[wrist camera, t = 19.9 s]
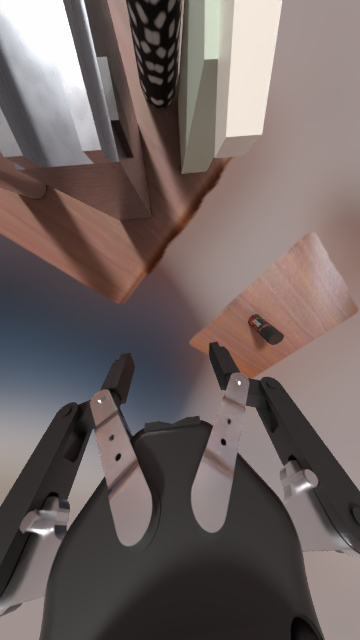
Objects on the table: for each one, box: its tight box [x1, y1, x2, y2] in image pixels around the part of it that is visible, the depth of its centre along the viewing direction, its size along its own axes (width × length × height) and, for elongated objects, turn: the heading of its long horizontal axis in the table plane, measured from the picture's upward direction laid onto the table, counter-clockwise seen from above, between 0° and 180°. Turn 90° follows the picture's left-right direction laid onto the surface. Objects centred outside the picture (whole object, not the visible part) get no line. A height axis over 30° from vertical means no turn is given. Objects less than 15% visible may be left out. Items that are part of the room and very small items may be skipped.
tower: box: [0, 0, 152, 221], centre depth 21 cm, size 11×18×34 cm, turn 5°
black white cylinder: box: [126, 0, 182, 109], centre depth 20 cm, size 8×8×20 cm
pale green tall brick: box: [178, 0, 220, 174], centre depth 22 cm, size 7×12×26 cm, turn 5°
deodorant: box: [248, 314, 284, 345], centre depth 57 cm, size 6×6×15 cm
